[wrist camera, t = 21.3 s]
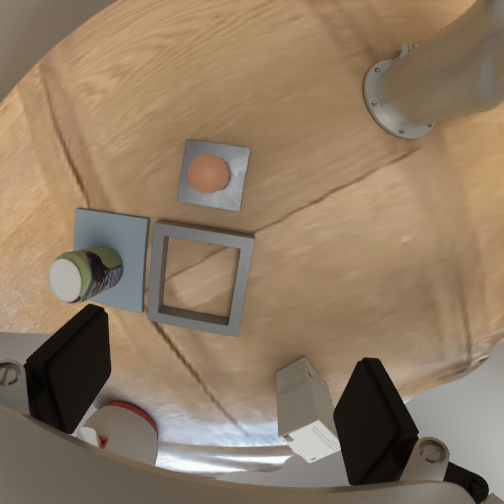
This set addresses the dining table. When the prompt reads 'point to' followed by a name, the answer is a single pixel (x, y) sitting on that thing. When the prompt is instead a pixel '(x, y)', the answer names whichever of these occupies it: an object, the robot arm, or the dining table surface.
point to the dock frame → (158, 277)
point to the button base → (234, 189)
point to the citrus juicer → (122, 432)
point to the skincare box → (305, 411)
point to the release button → (208, 173)
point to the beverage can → (84, 274)
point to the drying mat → (117, 252)
